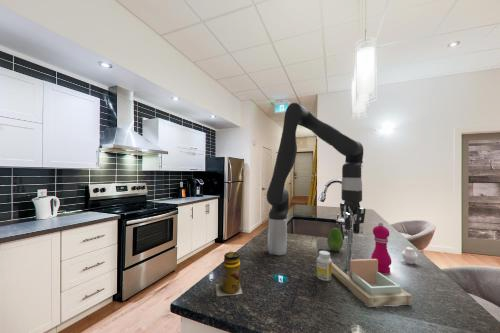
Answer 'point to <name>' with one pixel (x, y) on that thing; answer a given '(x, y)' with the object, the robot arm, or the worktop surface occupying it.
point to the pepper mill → (381, 248)
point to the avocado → (335, 239)
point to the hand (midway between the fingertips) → (351, 231)
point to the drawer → (371, 277)
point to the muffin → (409, 255)
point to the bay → (368, 298)
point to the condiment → (230, 276)
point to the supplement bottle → (324, 266)
